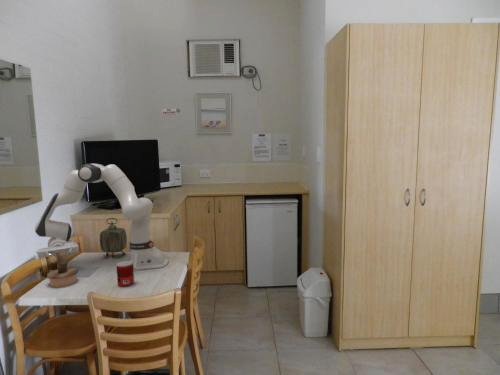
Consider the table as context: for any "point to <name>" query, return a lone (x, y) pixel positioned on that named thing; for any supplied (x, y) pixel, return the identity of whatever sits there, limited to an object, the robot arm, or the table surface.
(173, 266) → the table surface
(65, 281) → the bowl
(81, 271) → the mat
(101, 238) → the tabletop clock
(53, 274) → the lid
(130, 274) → the canned food
